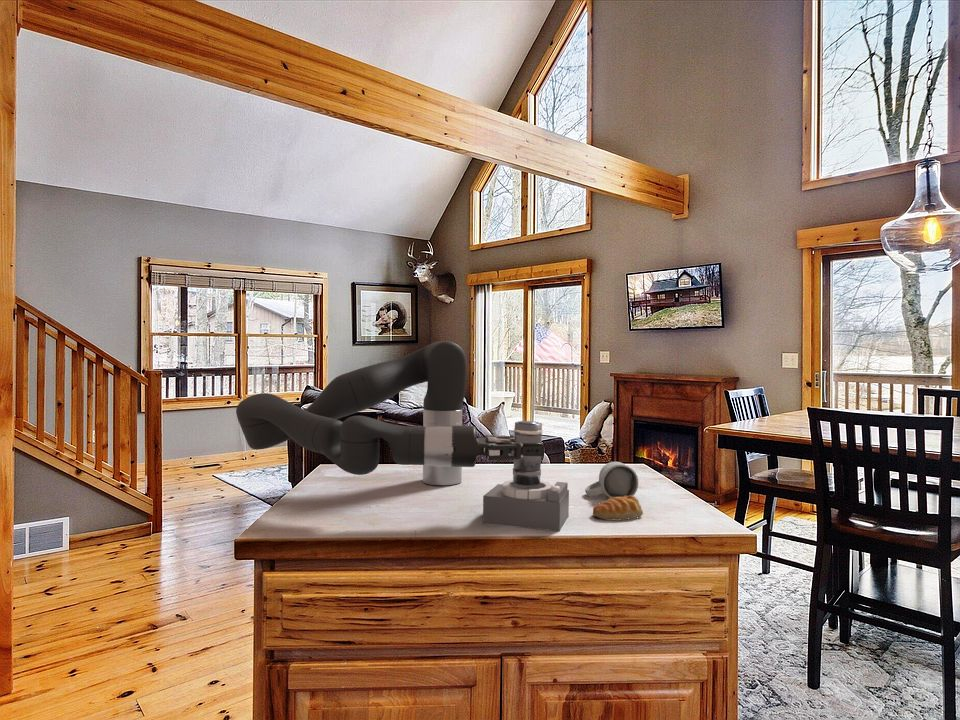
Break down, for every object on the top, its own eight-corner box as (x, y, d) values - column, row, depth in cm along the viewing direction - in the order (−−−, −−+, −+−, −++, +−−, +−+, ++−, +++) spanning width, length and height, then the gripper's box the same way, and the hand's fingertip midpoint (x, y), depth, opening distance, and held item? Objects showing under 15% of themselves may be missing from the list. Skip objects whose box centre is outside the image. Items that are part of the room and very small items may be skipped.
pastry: (606, 524, 110) (606, 503, 110) (584, 515, 116) (584, 495, 116) (645, 518, 114) (646, 498, 114) (622, 510, 120) (622, 491, 120)
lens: (516, 478, 114) (518, 419, 114) (543, 481, 113) (544, 421, 113) (509, 484, 109) (511, 422, 109) (537, 486, 108) (539, 424, 108)
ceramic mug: (630, 492, 134) (630, 458, 134) (638, 501, 126) (638, 465, 126) (582, 492, 134) (582, 458, 134) (588, 501, 126) (588, 465, 126)
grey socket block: (497, 509, 118) (498, 472, 118) (568, 516, 114) (569, 477, 114) (482, 523, 109) (483, 483, 109) (559, 531, 105) (560, 489, 105)
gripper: (449, 459, 118) (536, 460, 118) (449, 474, 103) (547, 475, 104) (450, 421, 118) (536, 422, 118) (450, 431, 103) (548, 432, 104)
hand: (541, 447), depth 111 cm, fingers closed on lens, 5 cm apart
